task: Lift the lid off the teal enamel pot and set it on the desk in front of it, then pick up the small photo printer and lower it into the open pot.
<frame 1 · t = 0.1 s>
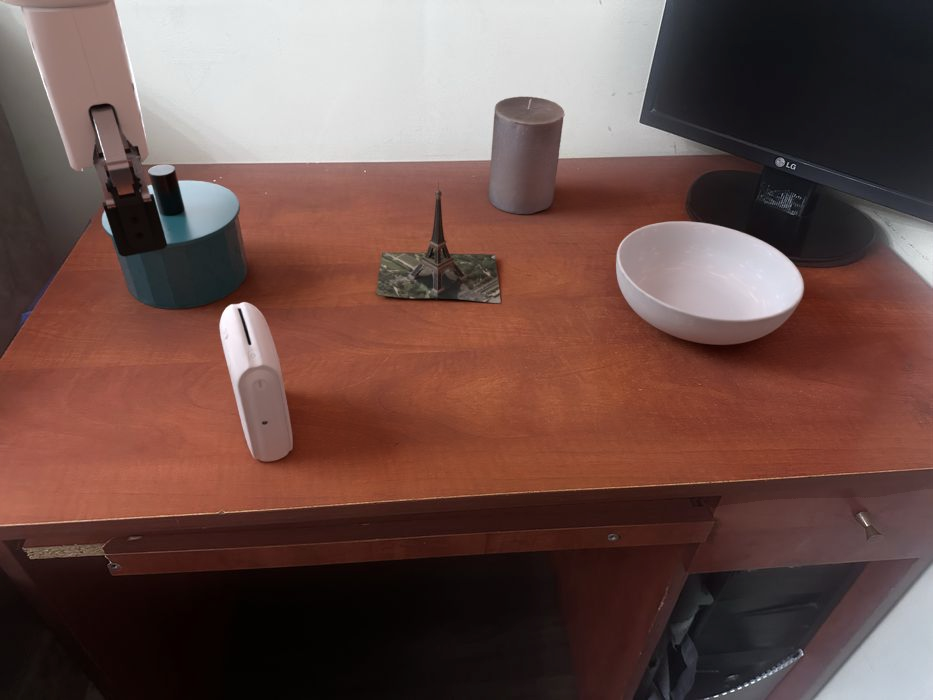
hand: (134, 218, 53), 23 cm above the table, tool pointing down, fingers open, 9 cm apart
lid: (173, 214, 82), point 8 cm above the table, touching pot
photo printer: (265, 426, 69), on the table
pot: (188, 275, 87), on the table
eiffel tower figurine: (439, 279, 89), on the table
serving bowl: (693, 314, 85), on the table
pillar candle: (520, 200, 106), on the table
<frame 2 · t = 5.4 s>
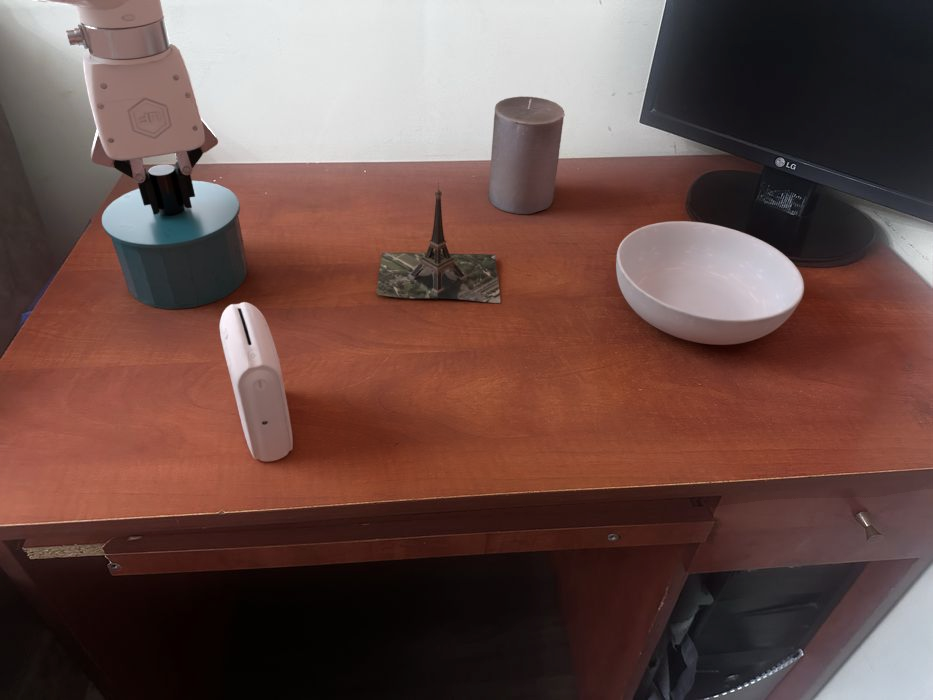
hand: (170, 204, 81), 10 cm above the table, tool pointing down, fingers closed on lid, 2 cm apart
lid: (173, 214, 82), point 9 cm above the table, touching gripper, pot
everything else where it was.
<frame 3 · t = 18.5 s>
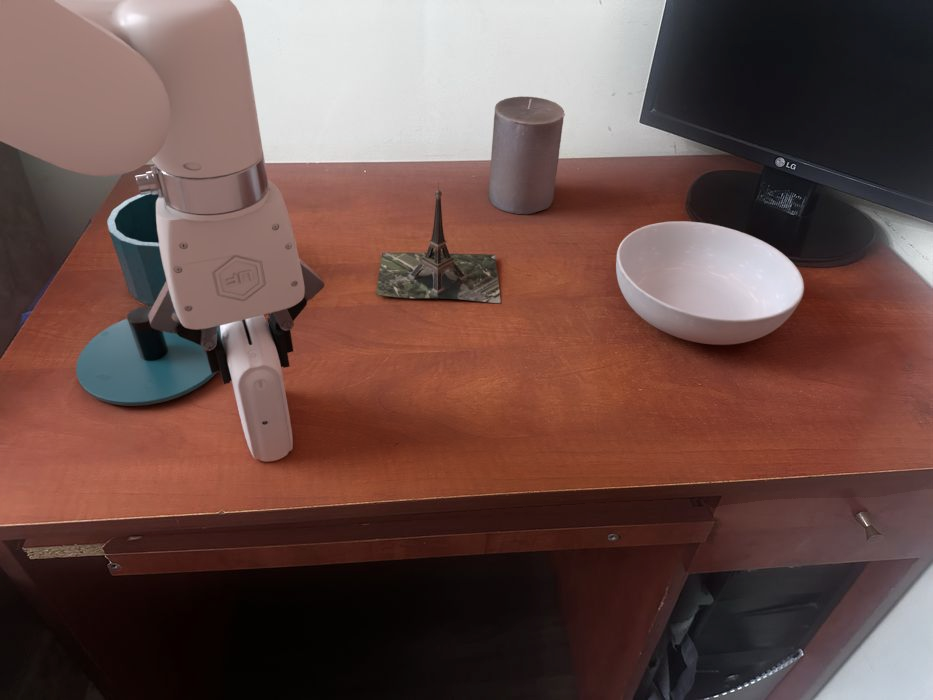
hand: (253, 364, 63), 8 cm above the table, tool pointing down, fingers closed on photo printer, 4 cm apart
lid: (155, 356, 75), point 1 cm above the table
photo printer: (265, 426, 69), on the table, touching gripper
everything else where it was.
when the fingers open (8 cm above the table, at t = 27.2 s): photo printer stays where it is, resting on pot.
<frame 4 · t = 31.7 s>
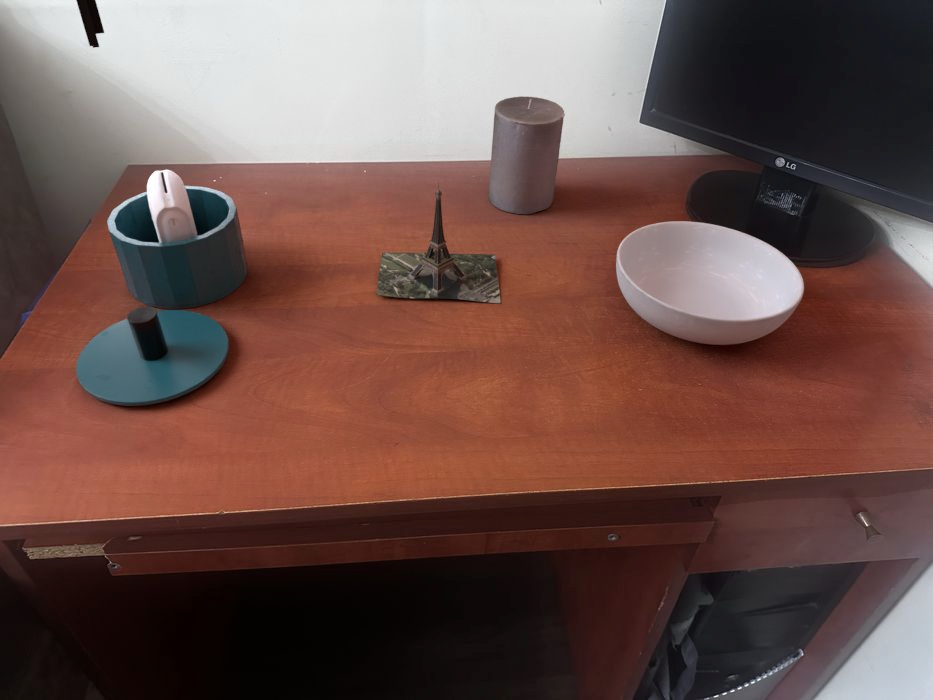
hand: (30, 49, 59), 30 cm above the table, tool pointing down, fingers open, 9 cm apart
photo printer: (187, 273, 87), resting on pot
everything else where it was.
at the end: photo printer inside the target area in the pot (0.1 cm from its centre), point 0.3 cm above the pot's base; lid inside the target area (0.1 cm from its centre), point 0.6 cm above the table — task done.
